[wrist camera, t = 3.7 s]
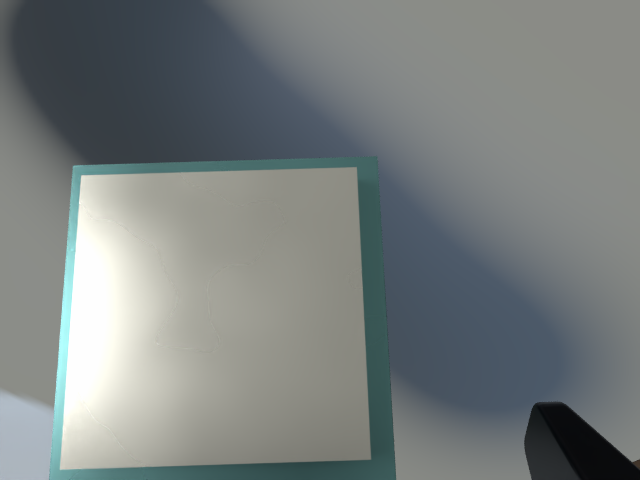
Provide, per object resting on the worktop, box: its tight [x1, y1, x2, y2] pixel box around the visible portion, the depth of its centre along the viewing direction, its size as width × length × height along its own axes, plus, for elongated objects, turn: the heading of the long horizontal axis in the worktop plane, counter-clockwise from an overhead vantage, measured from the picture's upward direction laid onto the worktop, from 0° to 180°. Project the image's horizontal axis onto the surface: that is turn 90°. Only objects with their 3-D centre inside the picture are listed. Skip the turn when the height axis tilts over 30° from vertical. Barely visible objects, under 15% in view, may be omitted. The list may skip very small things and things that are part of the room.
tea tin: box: [49, 156, 396, 480], centre depth 12 cm, size 4×4×10 cm
